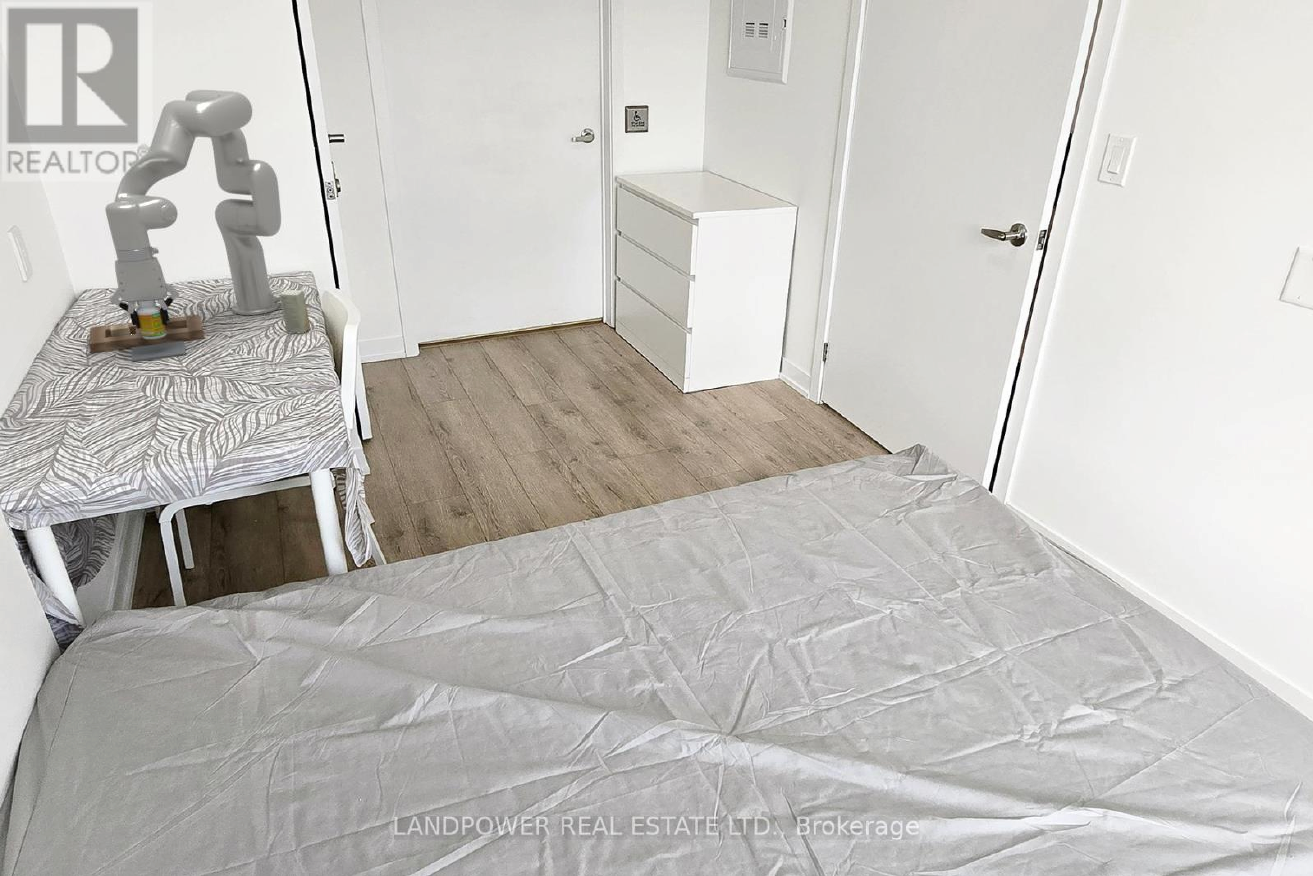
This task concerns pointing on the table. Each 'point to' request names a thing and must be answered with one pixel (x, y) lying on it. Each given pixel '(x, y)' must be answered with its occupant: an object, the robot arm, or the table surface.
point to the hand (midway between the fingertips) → (151, 324)
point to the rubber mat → (158, 351)
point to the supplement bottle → (150, 320)
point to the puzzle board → (175, 332)
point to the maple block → (120, 330)
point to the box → (294, 311)
